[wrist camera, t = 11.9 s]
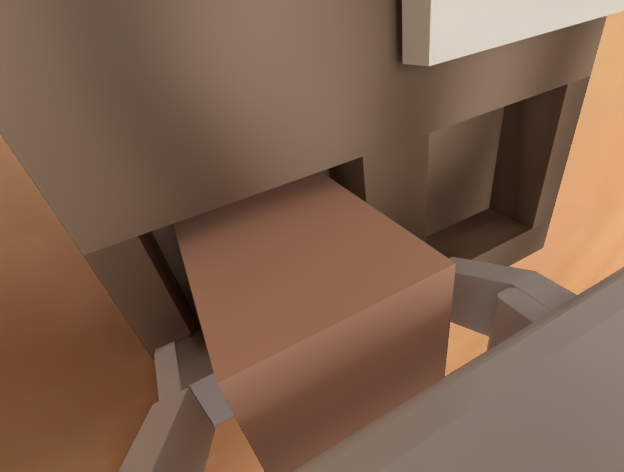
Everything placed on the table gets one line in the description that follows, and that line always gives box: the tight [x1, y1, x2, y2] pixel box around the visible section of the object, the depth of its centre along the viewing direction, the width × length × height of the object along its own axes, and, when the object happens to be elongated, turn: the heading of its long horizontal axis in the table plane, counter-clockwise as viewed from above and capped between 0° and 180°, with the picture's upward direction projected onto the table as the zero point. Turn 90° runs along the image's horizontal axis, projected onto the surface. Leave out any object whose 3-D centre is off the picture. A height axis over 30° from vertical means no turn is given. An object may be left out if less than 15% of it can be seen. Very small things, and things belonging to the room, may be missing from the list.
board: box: [0, 0, 607, 361], centre depth 12 cm, size 18×18×4 cm
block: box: [173, 171, 456, 472], centre depth 10 cm, size 5×5×7 cm
